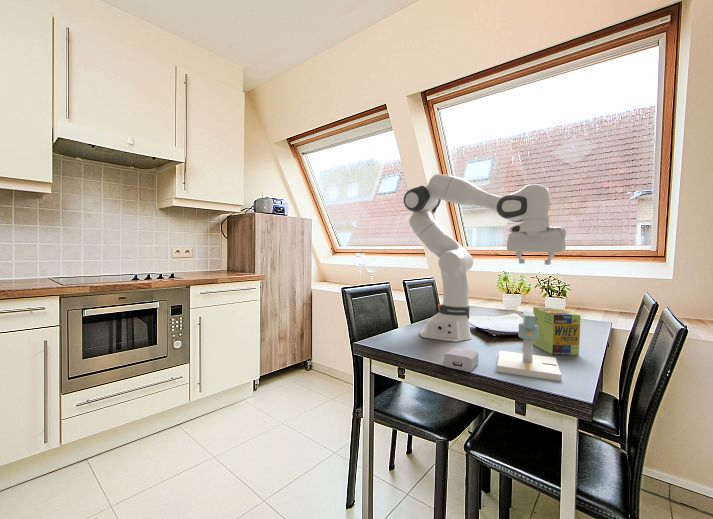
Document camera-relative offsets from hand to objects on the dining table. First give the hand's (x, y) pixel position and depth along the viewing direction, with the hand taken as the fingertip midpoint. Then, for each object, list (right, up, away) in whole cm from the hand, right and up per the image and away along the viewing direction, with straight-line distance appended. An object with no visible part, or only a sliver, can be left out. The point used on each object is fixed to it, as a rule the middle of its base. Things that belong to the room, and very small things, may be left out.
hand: (534, 264), depth 131 cm
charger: (-30, -35, -11) cm, 47 cm away
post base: (-10, -35, -15) cm, 39 cm away
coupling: (-10, -24, -15) cm, 30 cm away
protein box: (+11, -34, +6) cm, 37 cm away
